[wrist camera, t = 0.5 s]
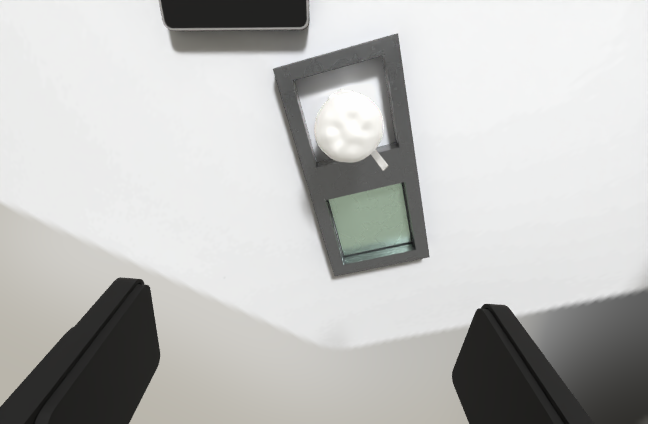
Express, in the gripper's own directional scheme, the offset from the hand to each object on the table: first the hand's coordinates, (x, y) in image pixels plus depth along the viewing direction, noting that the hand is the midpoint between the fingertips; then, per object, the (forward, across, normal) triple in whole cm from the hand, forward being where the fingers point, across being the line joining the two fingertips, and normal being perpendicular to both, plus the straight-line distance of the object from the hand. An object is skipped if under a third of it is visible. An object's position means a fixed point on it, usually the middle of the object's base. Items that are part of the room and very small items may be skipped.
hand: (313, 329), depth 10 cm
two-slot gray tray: (+23, -4, +2) cm, 24 cm away
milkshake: (+23, -2, -3) cm, 23 cm away
